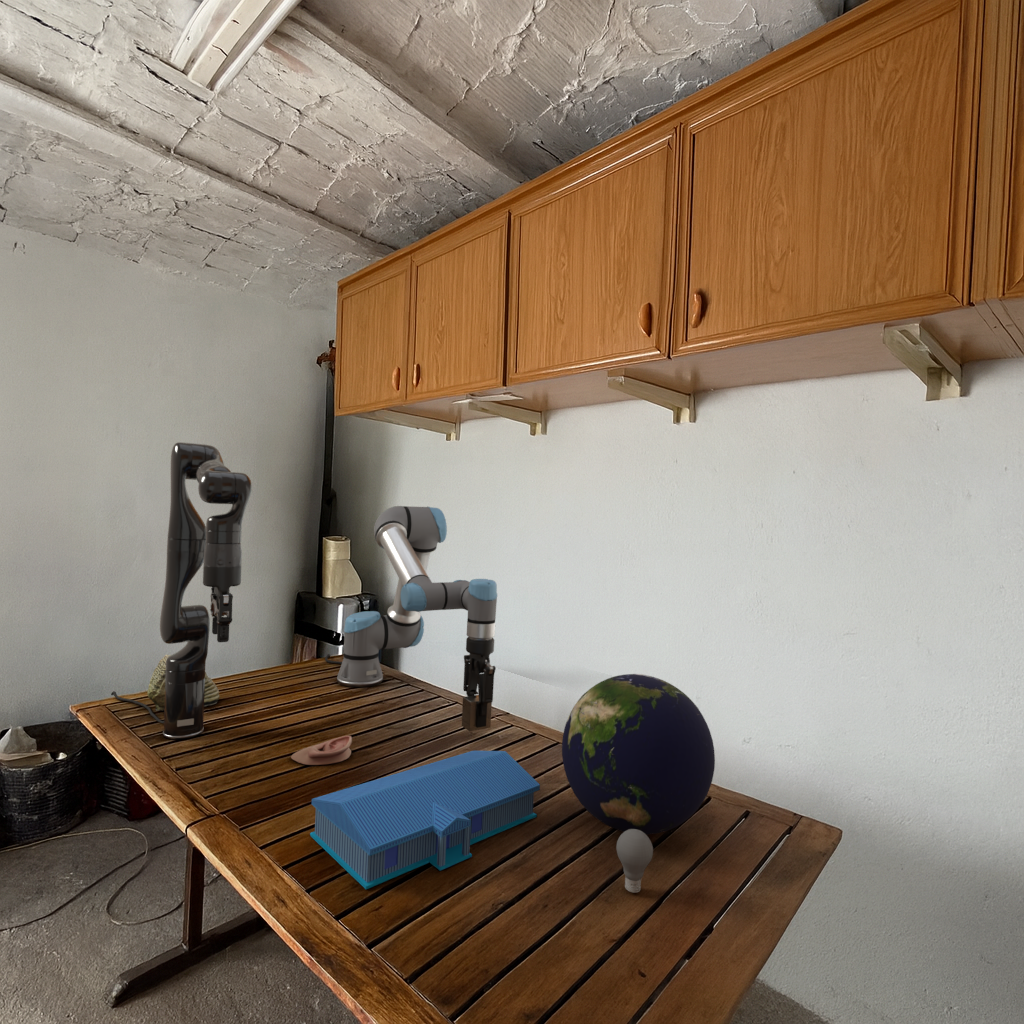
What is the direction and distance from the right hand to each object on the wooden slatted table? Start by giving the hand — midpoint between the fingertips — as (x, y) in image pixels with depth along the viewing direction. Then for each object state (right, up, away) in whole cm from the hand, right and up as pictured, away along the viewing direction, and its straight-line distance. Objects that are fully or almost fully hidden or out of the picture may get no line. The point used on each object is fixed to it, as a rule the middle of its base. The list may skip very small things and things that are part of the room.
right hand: (476, 722), depth 171 cm
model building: (-6, -5, -48) cm, 48 cm away
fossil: (-86, 0, +14) cm, 88 cm away
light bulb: (+30, -7, -65) cm, 72 cm away
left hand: (-54, +29, -33) cm, 70 cm away
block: (0, -1, 0) cm, 1 cm away
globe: (+34, -6, -43) cm, 55 cm away
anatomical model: (-37, -3, -17) cm, 40 cm away
